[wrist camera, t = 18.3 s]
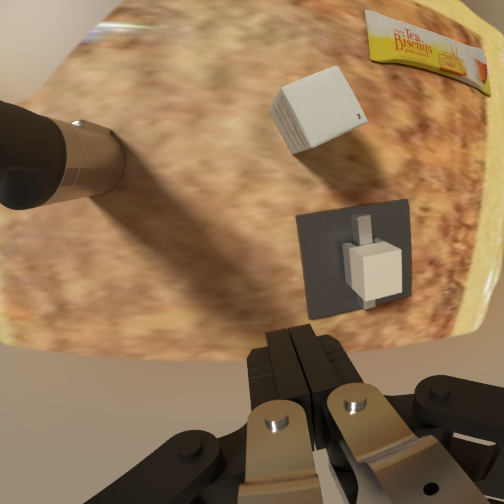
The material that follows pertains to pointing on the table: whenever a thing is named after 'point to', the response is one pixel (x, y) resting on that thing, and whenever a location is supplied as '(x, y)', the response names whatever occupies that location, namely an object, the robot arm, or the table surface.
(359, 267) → the block
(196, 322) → the table surface
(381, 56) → the food package
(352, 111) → the supplement box
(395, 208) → the rail board
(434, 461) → the robot arm
